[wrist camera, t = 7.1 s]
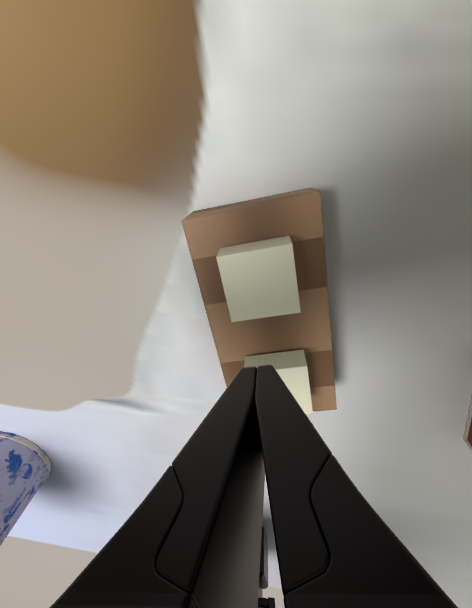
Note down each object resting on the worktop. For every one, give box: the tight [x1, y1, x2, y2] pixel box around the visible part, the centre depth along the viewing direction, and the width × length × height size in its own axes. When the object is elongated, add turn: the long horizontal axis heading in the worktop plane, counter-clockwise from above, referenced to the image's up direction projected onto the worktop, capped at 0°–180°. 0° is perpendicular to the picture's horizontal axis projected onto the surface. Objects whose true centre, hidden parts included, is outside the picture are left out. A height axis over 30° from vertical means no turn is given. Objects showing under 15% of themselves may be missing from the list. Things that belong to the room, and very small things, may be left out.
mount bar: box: [182, 188, 337, 411], centre depth 19 cm, size 7×14×3 cm, turn 11°
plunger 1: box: [216, 236, 301, 322], centre depth 17 cm, size 4×4×5 cm
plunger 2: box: [244, 350, 313, 414], centre depth 20 cm, size 4×4×5 cm
